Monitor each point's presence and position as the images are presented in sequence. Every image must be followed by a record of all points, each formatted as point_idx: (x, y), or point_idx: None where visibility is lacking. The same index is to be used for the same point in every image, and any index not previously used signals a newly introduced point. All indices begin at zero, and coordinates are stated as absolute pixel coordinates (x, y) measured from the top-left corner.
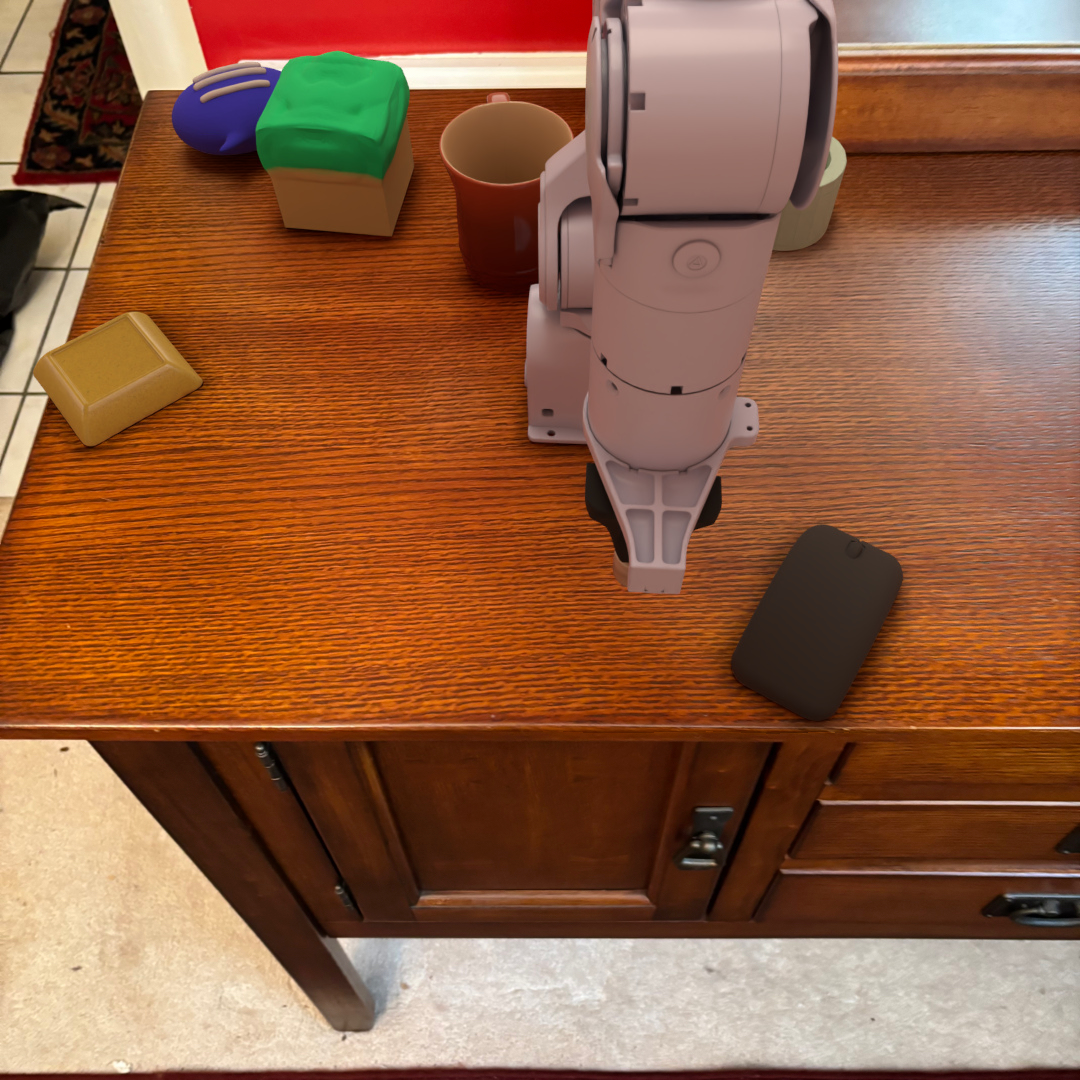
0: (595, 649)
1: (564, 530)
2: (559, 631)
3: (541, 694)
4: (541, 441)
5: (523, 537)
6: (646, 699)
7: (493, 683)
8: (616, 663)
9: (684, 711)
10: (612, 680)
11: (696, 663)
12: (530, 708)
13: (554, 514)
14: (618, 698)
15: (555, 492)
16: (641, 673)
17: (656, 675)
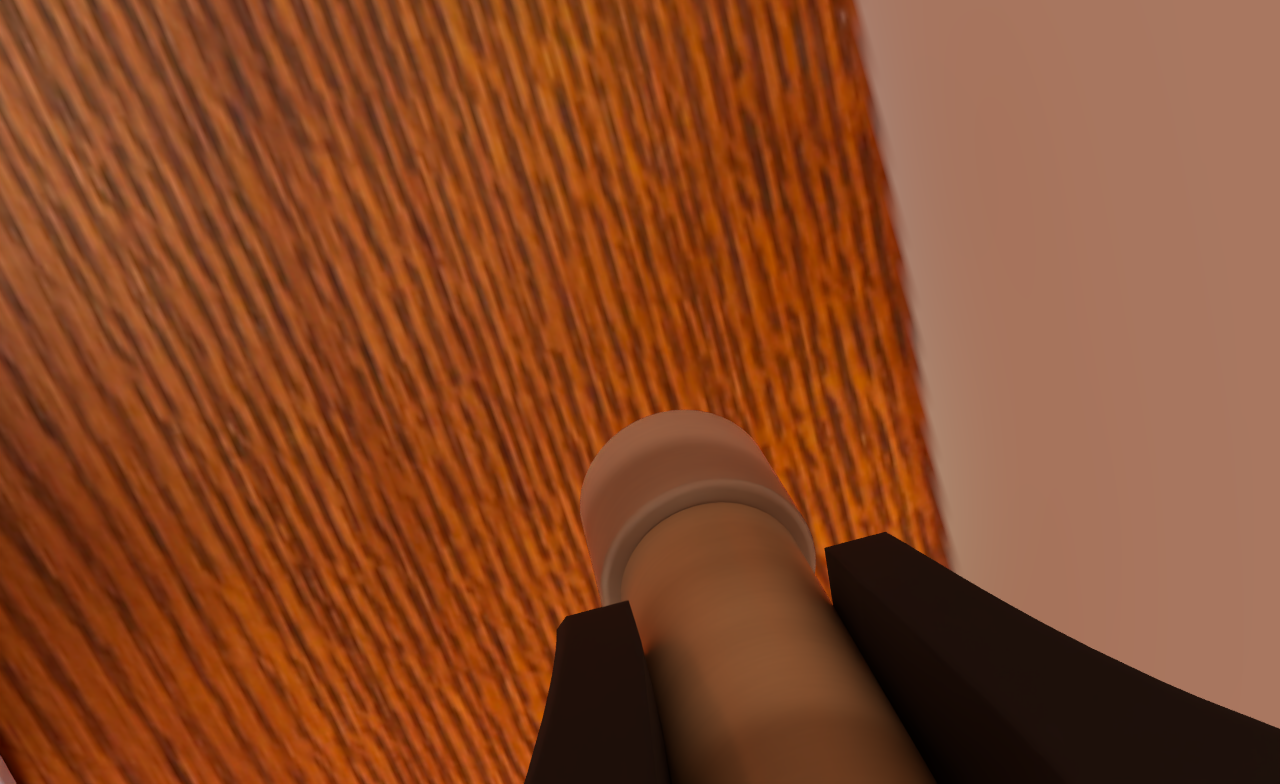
0: (699, 395)
1: (318, 598)
2: None
3: (865, 488)
4: (9, 776)
5: (389, 691)
6: (825, 211)
7: None
8: (729, 325)
9: (842, 87)
10: (786, 322)
11: (671, 83)
12: (908, 501)
13: (270, 642)
14: (838, 290)
15: (185, 666)
16: (745, 246)
17: (742, 200)
